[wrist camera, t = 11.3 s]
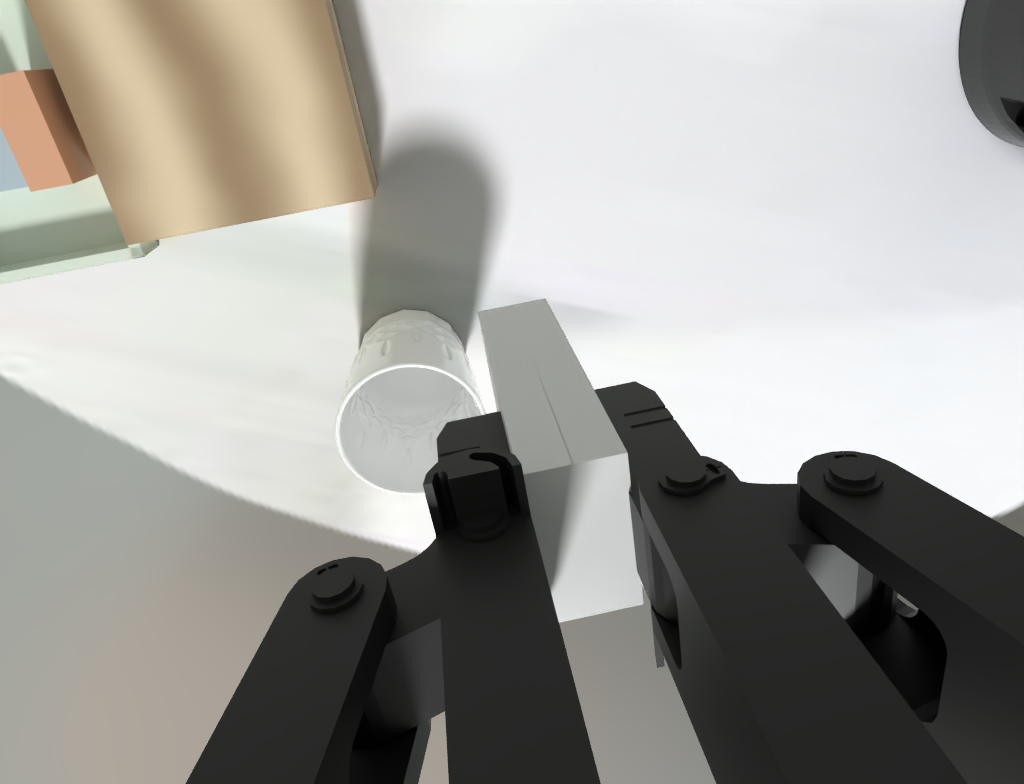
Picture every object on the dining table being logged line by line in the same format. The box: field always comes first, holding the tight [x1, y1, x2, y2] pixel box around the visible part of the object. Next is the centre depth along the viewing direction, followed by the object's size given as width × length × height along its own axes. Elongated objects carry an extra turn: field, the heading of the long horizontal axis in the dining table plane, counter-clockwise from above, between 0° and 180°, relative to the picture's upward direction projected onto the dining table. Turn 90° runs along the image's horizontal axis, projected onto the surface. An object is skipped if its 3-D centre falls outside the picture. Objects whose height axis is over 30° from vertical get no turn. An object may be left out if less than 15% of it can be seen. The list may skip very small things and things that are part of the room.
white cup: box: [335, 309, 486, 495], centre depth 41 cm, size 8×8×10 cm
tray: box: [0, 0, 159, 285], centre depth 36 cm, size 10×14×2 cm
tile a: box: [0, 69, 97, 192], centre depth 35 cm, size 5×5×2 cm
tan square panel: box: [24, 0, 377, 246], centre depth 36 cm, size 13×12×4 cm
